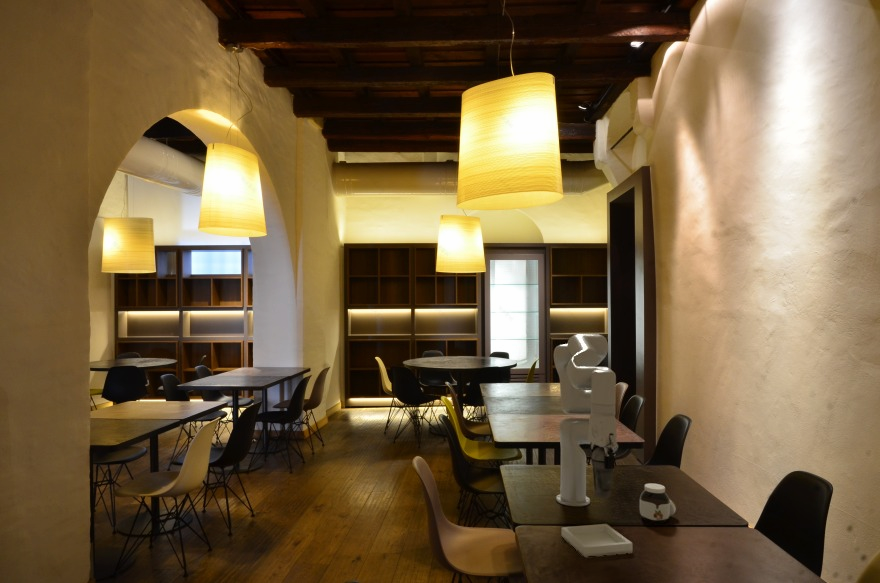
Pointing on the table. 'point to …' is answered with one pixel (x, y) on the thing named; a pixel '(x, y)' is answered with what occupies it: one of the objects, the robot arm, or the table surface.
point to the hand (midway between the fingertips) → (602, 464)
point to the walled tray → (596, 540)
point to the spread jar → (656, 504)
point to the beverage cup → (601, 474)
